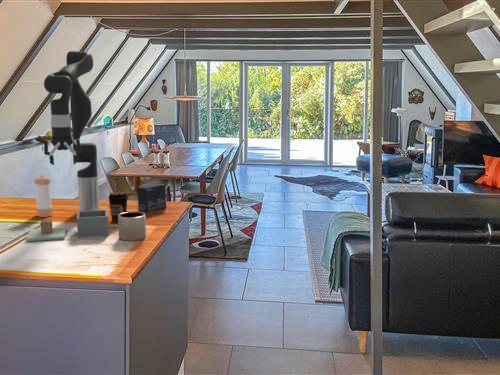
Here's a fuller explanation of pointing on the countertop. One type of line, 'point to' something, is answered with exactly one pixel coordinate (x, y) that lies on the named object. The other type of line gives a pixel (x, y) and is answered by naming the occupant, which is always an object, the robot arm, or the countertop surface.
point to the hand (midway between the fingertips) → (63, 164)
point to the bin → (92, 223)
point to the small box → (151, 197)
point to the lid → (46, 232)
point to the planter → (131, 226)
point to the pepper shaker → (43, 197)
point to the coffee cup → (117, 204)
